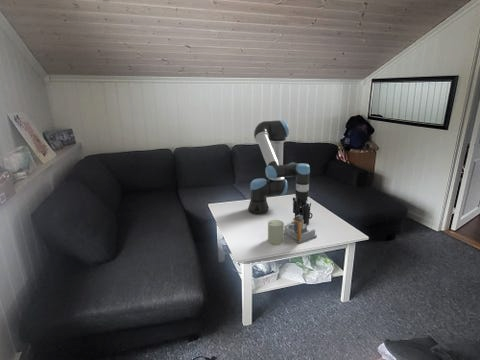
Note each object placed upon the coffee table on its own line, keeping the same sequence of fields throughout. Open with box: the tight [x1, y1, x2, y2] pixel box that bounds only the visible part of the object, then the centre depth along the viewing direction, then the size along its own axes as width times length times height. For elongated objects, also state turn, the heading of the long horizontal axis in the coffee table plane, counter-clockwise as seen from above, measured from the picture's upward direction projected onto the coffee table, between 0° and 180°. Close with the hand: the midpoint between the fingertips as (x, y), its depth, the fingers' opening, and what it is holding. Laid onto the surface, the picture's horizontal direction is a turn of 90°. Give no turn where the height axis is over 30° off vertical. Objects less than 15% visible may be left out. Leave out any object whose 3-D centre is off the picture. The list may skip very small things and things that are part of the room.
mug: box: [298, 208, 313, 226], centre depth 195 cm, size 9×12×9 cm
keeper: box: [283, 217, 318, 244], centre depth 178 cm, size 16×14×14 cm
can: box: [267, 219, 285, 246], centre depth 172 cm, size 9×9×12 cm
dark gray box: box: [293, 215, 308, 234], centre depth 178 cm, size 5×6×10 cm
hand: (300, 226), depth 178 cm, fingers closed on dark gray box, 5 cm apart
